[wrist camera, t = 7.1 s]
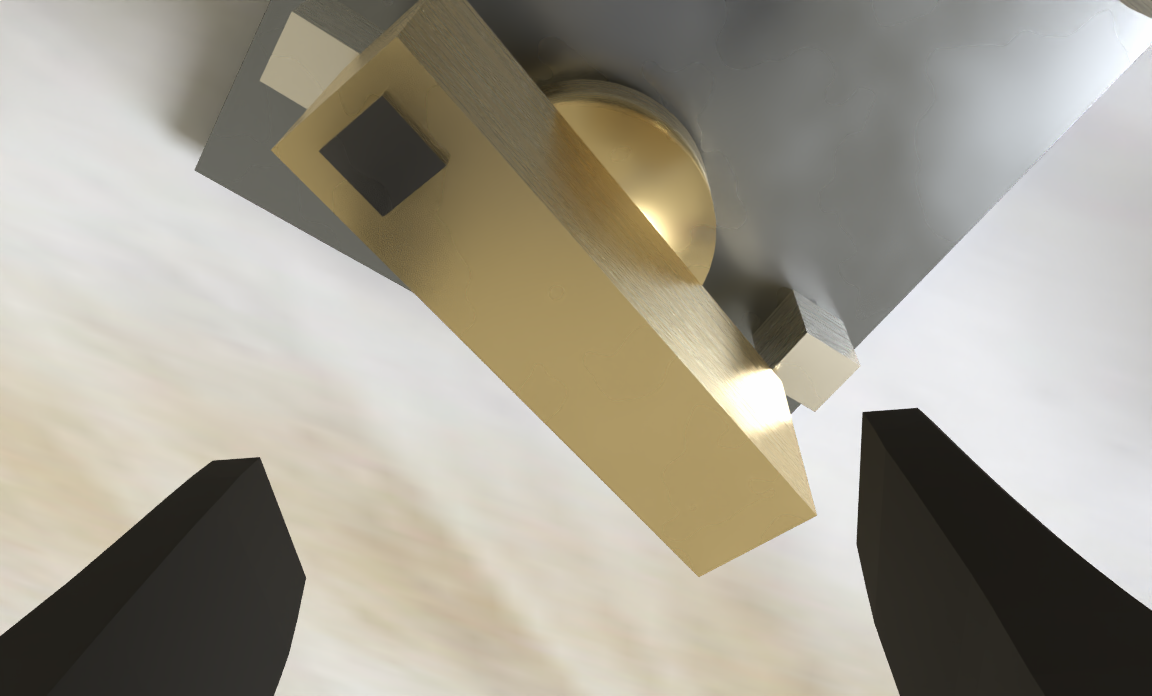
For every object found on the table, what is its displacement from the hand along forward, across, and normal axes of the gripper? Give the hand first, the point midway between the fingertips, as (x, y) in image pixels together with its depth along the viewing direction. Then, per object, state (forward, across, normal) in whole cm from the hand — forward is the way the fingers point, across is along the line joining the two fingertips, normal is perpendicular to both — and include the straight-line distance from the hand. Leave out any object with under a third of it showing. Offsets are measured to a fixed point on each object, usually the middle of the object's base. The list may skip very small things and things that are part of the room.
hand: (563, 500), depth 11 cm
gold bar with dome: (+9, 0, 0) cm, 9 cm away
